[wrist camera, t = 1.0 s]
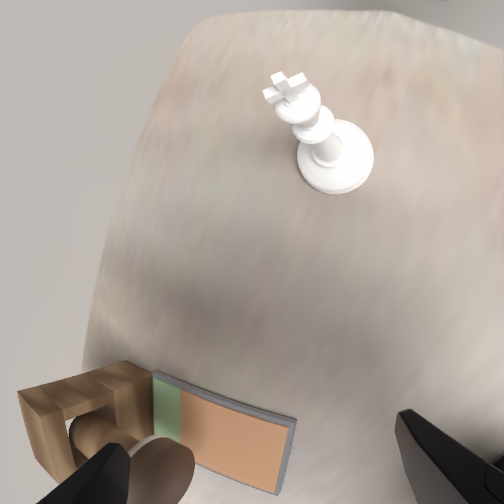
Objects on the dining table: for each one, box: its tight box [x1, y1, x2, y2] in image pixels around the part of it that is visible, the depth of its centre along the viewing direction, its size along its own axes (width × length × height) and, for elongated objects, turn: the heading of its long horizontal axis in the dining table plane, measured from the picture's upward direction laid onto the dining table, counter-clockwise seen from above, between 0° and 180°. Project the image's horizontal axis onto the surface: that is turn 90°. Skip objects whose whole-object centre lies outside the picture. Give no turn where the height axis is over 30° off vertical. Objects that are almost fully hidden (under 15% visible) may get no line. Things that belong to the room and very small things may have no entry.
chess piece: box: [263, 71, 374, 194], centre depth 14 cm, size 5×5×10 cm
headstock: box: [17, 361, 154, 485], centre depth 21 cm, size 4×7×12 cm, turn 173°
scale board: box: [152, 371, 297, 496], centre depth 22 cm, size 13×8×1 cm, turn 83°
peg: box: [69, 411, 195, 504], centre depth 17 cm, size 8×6×6 cm
